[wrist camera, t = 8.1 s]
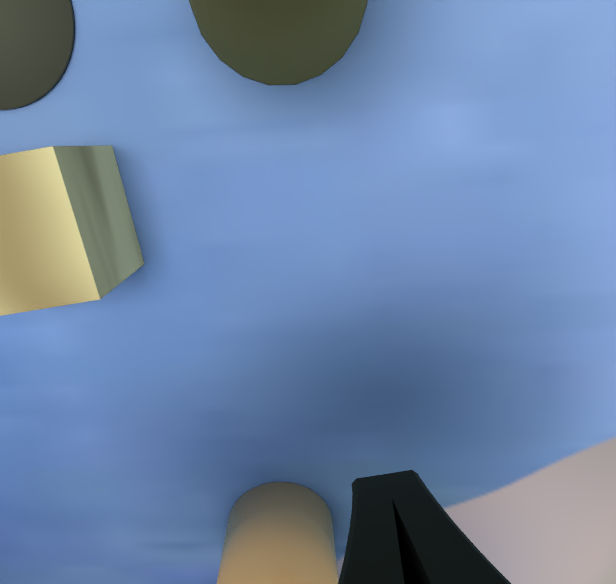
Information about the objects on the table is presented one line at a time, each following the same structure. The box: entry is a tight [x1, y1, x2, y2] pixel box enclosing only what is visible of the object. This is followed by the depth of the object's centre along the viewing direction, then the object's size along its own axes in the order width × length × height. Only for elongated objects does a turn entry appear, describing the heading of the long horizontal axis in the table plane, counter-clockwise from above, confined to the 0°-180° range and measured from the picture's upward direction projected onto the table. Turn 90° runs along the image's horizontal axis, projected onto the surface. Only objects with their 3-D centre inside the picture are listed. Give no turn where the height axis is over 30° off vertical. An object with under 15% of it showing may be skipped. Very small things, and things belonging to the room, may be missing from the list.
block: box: [0, 145, 144, 316], centre depth 16 cm, size 4×4×4 cm
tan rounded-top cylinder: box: [217, 482, 339, 584], centre depth 20 cm, size 5×5×5 cm
